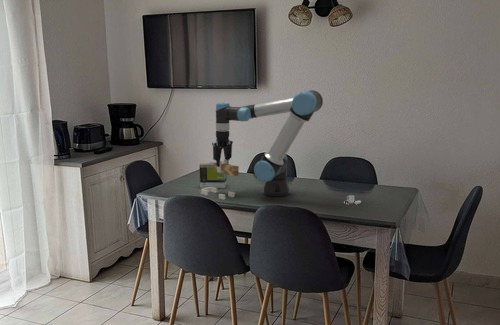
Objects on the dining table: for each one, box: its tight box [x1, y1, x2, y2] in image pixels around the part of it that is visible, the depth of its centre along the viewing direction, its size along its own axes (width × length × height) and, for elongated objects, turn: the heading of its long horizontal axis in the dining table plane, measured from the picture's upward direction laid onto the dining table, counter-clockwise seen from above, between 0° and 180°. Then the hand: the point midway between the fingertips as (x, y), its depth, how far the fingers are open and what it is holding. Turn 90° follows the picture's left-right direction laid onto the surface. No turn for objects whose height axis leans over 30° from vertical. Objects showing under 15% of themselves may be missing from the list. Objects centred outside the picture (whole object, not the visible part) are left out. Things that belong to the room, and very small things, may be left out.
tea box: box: [199, 161, 228, 189], centre depth 298 cm, size 15×10×15 cm, turn 84°
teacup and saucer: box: [343, 194, 362, 205], centre depth 262 cm, size 9×8×4 cm
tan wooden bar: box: [214, 161, 240, 177], centre depth 277 cm, size 16×4×5 cm, turn 46°
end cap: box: [199, 187, 219, 196], centre depth 283 cm, size 6×8×2 cm
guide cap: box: [218, 191, 236, 201], centre depth 273 cm, size 4×8×2 cm, turn 137°
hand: (222, 171), depth 279 cm, fingers closed on tan wooden bar, 4 cm apart
